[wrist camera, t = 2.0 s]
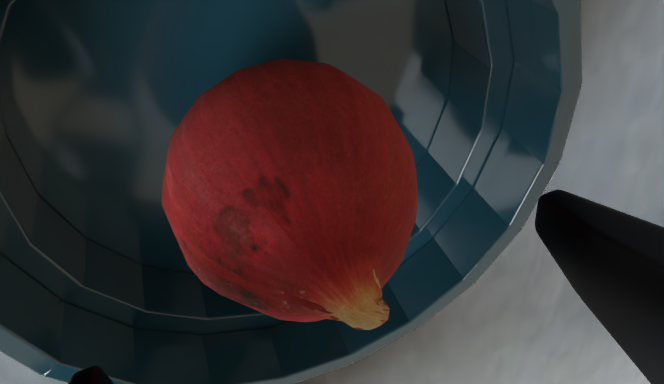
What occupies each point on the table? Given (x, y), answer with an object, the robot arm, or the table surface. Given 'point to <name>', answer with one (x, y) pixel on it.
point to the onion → (293, 192)
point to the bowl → (168, 111)
